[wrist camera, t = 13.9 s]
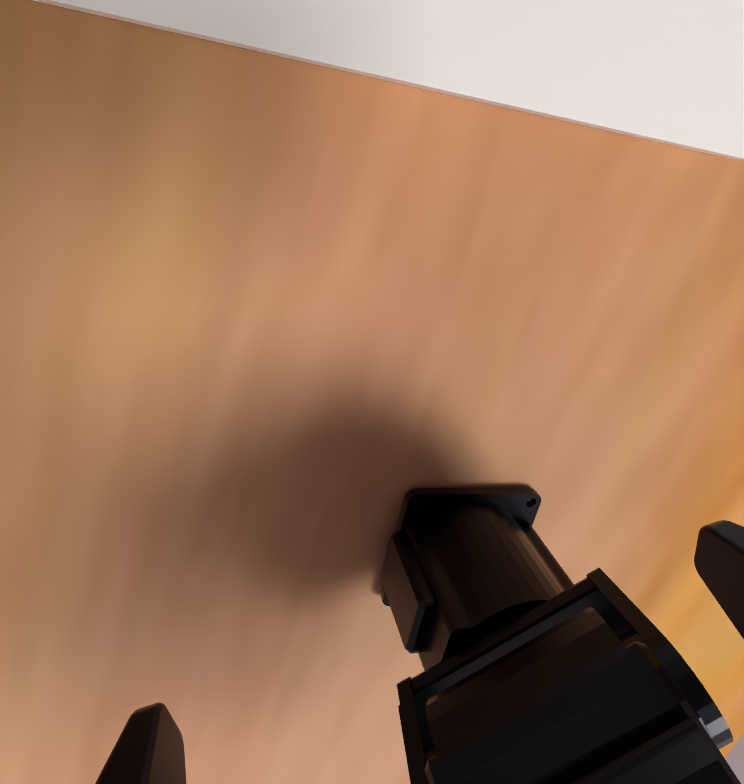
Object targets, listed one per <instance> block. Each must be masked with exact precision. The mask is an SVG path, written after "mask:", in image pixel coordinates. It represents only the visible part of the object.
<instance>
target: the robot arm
mask: <svg viewBox="0 0 744 784" xmlns="http://www.w3.org/2000/svg"><path fill="white" fill-rule="evenodd" d="M416 499H420V500H419V501H418V502H414V501H415V500H416ZM529 499H530V500H529ZM528 500H529V501H528ZM540 503H541V497H540V496H539V494H538V493H537V492H536V491H535V490H534V489H519V488H416V489H412V490H410V491H409V492H408V493H407V494H406V496H405V498H404V502H403V506H402V510H401V514H400V518H399V522H398V526H397V530H396V532H394V533H393V535H392V536H391V537H390V541H389V545H388V549H387V553H386V557H385V561H384V565H383V569H382V573H381V581H382V583H383V585H382V589H381V598H382V601H383V603H384V604H385V605H387V606H390V607H391V610H392V613H393V615H394V618H395V621H396V624H397V627H398V630H399V633H400V636H401V639H402V642H403V644H404V647H405V649H406V650H407V651H408V652H409V653H418V654H419V657H420V660H421V662H422V665H423V668H424V672H422V673H420V674H419V675H417V676H415V677H413V678H411V677H408V678H406V679H405V680H403V681H401V682H400V683H398V684H397V689H398V695H399V701H400V705H399V706H398V708H399V714H400V720H401V727H402V733H403V739H404V745H405V751H406V757H407V764H408V770H409V776H410V782H411V784H741V783H740V782H739V780H738V779H737V777H736V775H735V774H734V772H733V771H732V769H731V768H730V766H729V765H728V763H727V762H726V760H725V759H724V757H723V756H722V754H721V752H720V751H719V749H720V748H722V747H724V746H725V745H727V744H729V743H731V742H733V736H732V734H731V732H730V729H729V727H728V725H727V723H726V721H725V720H724V718H723V716H722V714H721V713H720V711H719V709H718V708H717V706H716V705H715V703H714V701H713V700H712V698H711V697H710V695H709V694H708V692H707V691H706V689H705V688H704V686H703V685H702V684H701V682H700V681H699V679H698V678H697V677H696V675H695V674H694V672H693V671H692V670H691V668H690V667H689V666H688V664H687V663H686V662H685V660H684V659H683V658H682V656H681V655H680V654H679V653H678V652H677V650H676V649H675V648H674V647H673V645H672V644H671V643H670V642H669V641H668V640H667V639H666V637H665V636H664V635H663V634H662V633H661V632H660V631H659V630H658V629H657V628H656V627H655V626H654V625H653V623H652V622H651V621H650V620H649V619H648V618H647V617H646V616H645V615H644V614H643V613H642V612H641V611H640V610H639V609H638V608H637V607H636V606H635V605H634V604H633V602H632V601H631V600H630V599H629V598H628V597H627V596H626V595H625V594H624V593H623V592H622V591H621V590H620V589H619V588H618V587H617V586H616V585H615V584H614V583H613V582H612V580H611V579H610V578H609V577H608V576H607V575H606V574H605V573H604V572H603V571H602V570H601V569H600V568H597V569H595V570H594V571H592V572H590V573H589V574H587V578H585V579H583V580H582V581H580V582H578V583H576V584H575V585H574V584H573V583H572V581H571V580H570V579H569V577H568V576H567V574H566V573H565V572H564V570H563V569H562V568H561V566H560V565H559V563H558V562H557V561H556V559H555V558H554V557H553V555H552V554H551V552H550V551H549V550H548V548H547V547H546V546H545V544H544V543H543V541H542V540H541V539H540V537H539V536H538V535H537V533H536V532H535V530H534V529H533V528H532V524H533V522H534V519H535V516H536V514H537V511H538V508H539V506H540ZM694 563H695V567H696V570H697V572H698V574H699V575H700V577H701V578H702V580H703V581H704V583H705V584H706V586H707V587H708V588H709V590H710V591H711V593H712V594H713V596H714V597H715V598H716V600H717V601H718V603H719V604H720V606H721V607H722V609H723V610H724V611H725V613H726V614H727V616H728V617H729V619H730V620H731V622H732V623H733V624H734V626H735V627H736V629H737V630H738V632H739V633H740V635H741V636H742V637H743V639H744V527H743V526H740V525H738V524H735V523H733V522H730V521H726V520H722V521H717V522H714V523H711V524H708V525H705V526H703V527H702V528H701V529H700V531H699V535H698V540H697V546H696V551H695V557H694ZM95 784H186V771H185V755H184V744H183V739H182V735H181V732H180V730H179V728H178V727H177V725H176V723H175V721H174V720H173V718H172V716H171V715H170V713H169V711H168V710H167V708H166V706H165V705H164V704H162V703H155V704H152V705H149V706H146V707H143V708H140V709H138V710H136V711H135V712H134V713H133V714H132V715H131V716H130V718H129V720H128V721H127V723H126V725H125V727H124V729H123V731H122V733H121V735H120V737H119V739H118V741H117V743H116V745H115V746H114V748H113V750H112V752H111V754H110V756H109V758H108V760H107V762H106V764H105V766H104V768H103V769H102V771H101V773H100V775H99V777H98V779H97V781H96V783H95Z"/></svg>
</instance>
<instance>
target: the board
mask: <svg viewBox="0 0 744 784" xmlns="http://www.w3.org/2000/svg"><path fill="white" fill-rule="evenodd" d="M33 1H37V2H42V3H46V4H51V5H55V6H59V7H64V8H68V9H73V10H77V11H82V12H86V13H90V14H95V15H99V16H104V17H108V18H112V19H117V20H121V21H126V22H130V23H135V24H139V25H143V26H148V27H152V28H157V29H161V30H165V31H170V32H174V33H179V34H183V35H187V36H192V37H196V38H201V39H205V40H210V41H214V42H218V43H223V44H227V45H232V46H236V47H240V48H245V49H249V50H254V51H258V52H263V53H267V54H271V55H276V56H280V57H285V58H289V59H293V60H298V61H302V62H307V63H311V64H316V65H320V66H324V67H329V68H333V69H338V70H342V71H346V72H351V73H355V74H360V75H364V76H368V77H373V78H377V79H382V80H386V81H391V82H395V83H399V84H404V85H408V86H413V87H417V88H421V89H426V90H430V91H435V92H439V93H444V94H448V95H452V96H457V97H461V98H466V99H470V100H474V101H479V102H483V103H488V104H492V105H496V106H501V107H505V108H510V109H514V110H519V111H523V112H527V113H532V114H536V115H541V116H545V117H549V118H554V119H558V120H563V121H567V122H572V123H576V124H580V125H585V126H589V127H594V128H598V129H602V130H607V131H611V132H616V133H620V134H625V135H629V136H633V137H638V138H642V139H647V140H651V141H655V142H660V143H664V144H669V145H673V146H677V147H682V148H686V149H691V150H695V151H700V152H704V153H708V154H713V155H717V156H722V157H727V158H734V159H741V160H744V0H33Z"/></svg>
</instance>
